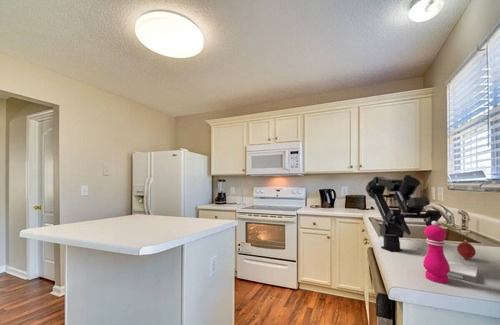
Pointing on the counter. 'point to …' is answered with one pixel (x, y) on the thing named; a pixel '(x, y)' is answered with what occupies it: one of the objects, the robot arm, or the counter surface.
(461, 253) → the onion
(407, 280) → the counter surface
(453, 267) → the kitchen scale
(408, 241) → the counter surface
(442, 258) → the pepper mill
